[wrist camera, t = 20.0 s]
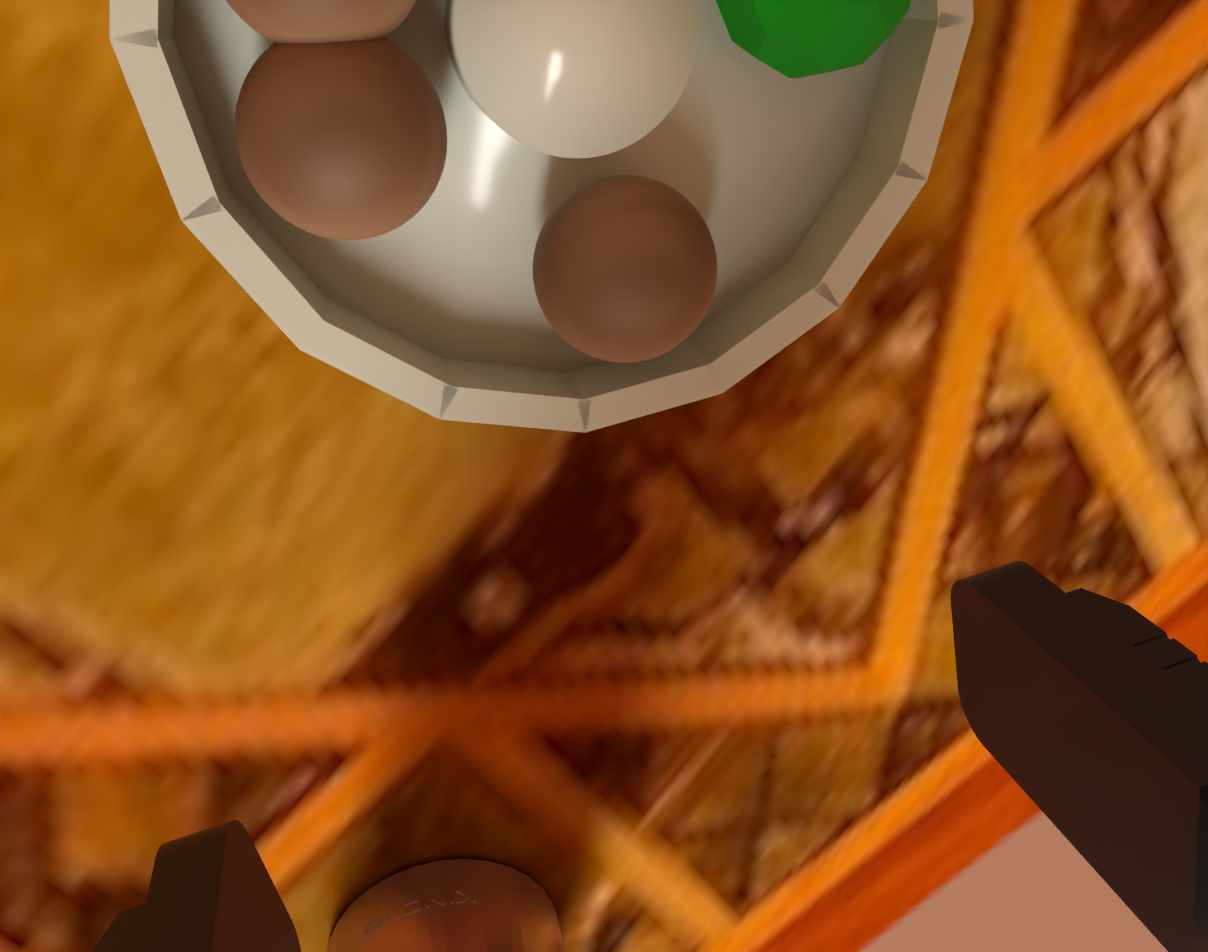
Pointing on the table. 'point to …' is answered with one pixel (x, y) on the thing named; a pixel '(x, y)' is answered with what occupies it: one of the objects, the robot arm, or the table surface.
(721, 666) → the table surface
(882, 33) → the polyhedron
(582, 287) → the walnut bead
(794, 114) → the tray
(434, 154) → the joined brown beads
